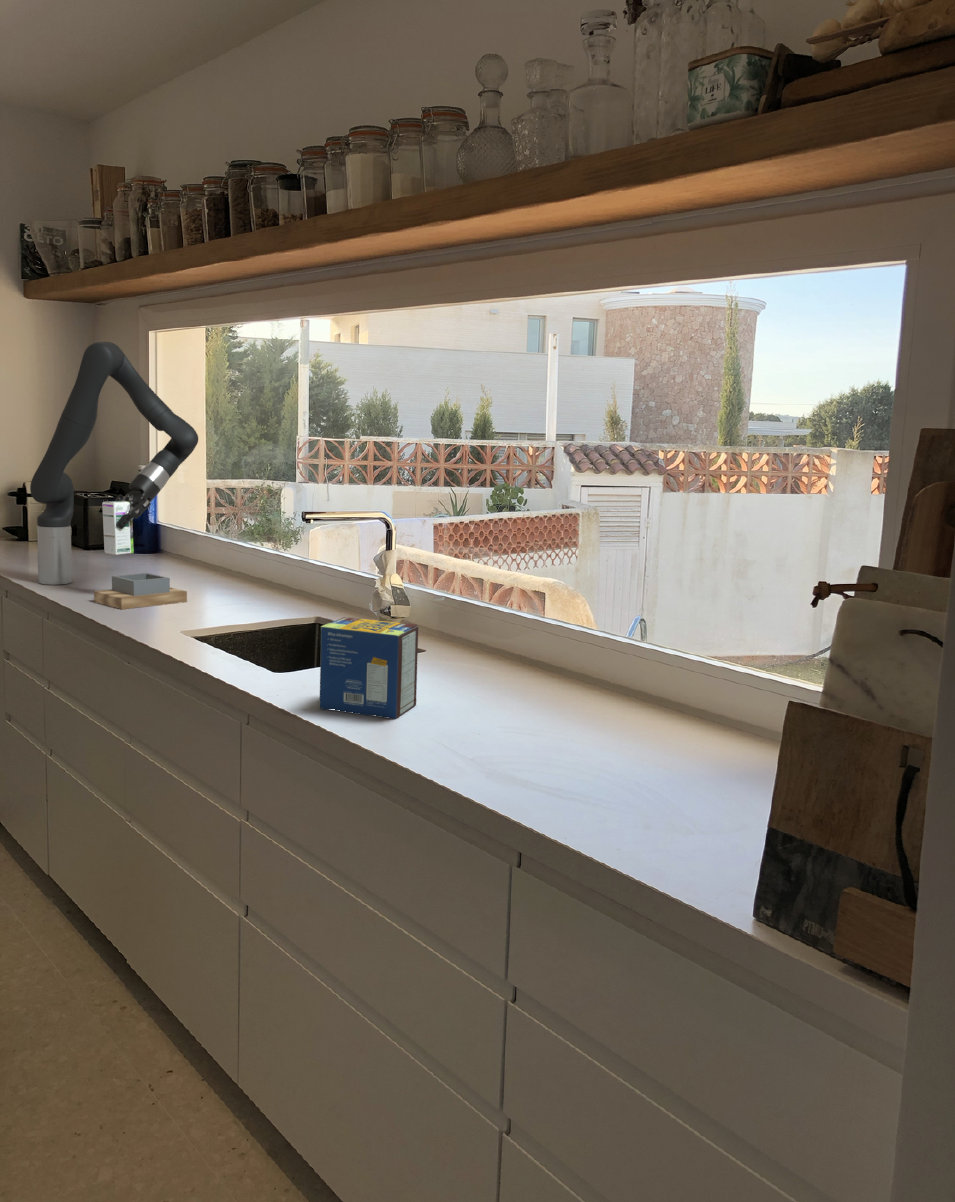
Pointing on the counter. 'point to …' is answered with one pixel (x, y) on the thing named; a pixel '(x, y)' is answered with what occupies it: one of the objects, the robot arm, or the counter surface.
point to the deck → (138, 598)
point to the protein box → (368, 667)
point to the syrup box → (116, 529)
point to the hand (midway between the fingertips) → (112, 525)
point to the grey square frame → (140, 584)
